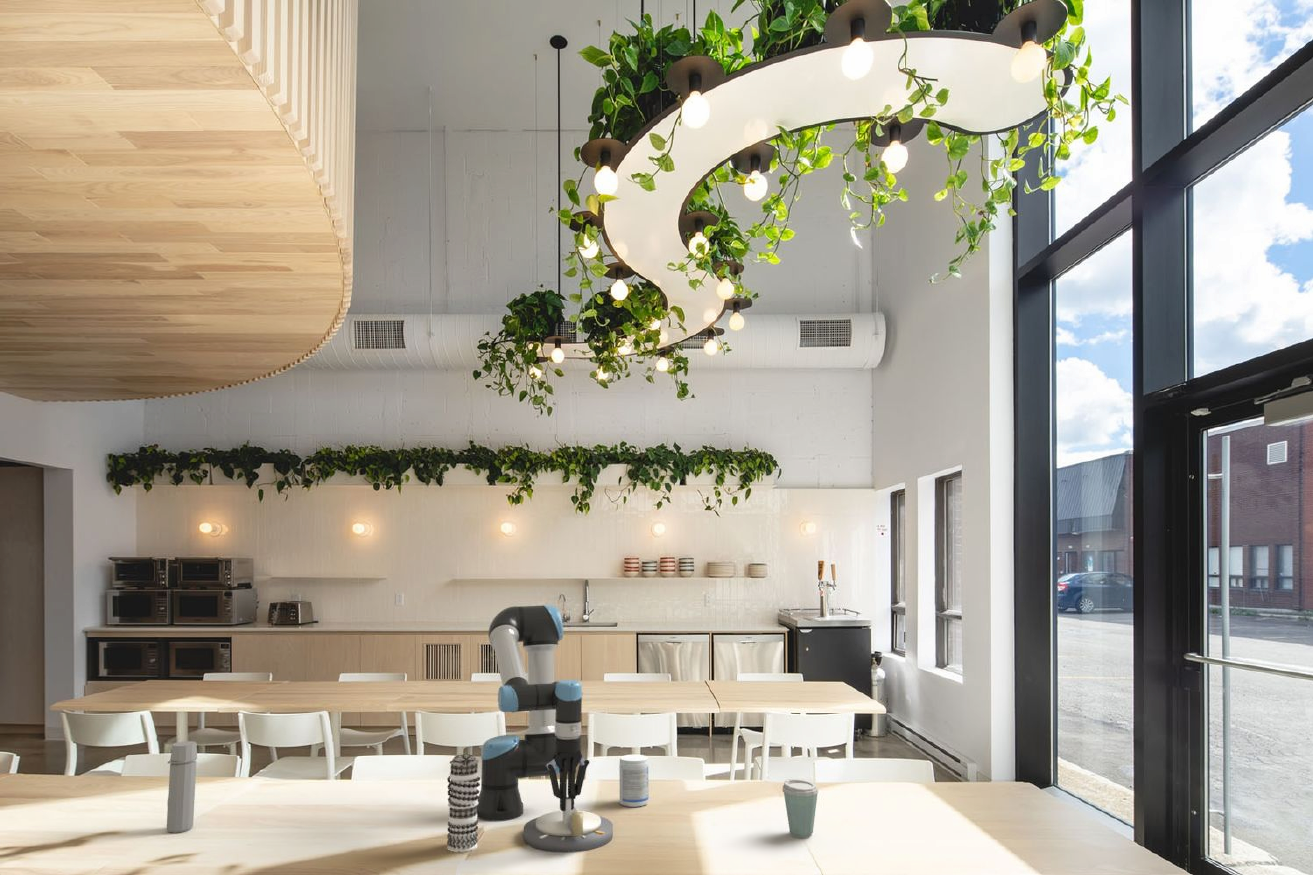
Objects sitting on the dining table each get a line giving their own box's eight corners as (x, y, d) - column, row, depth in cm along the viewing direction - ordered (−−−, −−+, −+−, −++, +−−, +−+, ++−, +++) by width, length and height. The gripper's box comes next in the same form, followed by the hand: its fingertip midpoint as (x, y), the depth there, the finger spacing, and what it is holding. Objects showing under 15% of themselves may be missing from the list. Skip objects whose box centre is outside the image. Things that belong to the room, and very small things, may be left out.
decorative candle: (462, 854, 253) (465, 761, 255) (438, 848, 257) (441, 757, 260) (485, 845, 260) (487, 754, 263) (461, 839, 265) (463, 750, 268)
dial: (531, 818, 275) (531, 793, 275) (593, 813, 280) (593, 789, 281) (544, 844, 252) (544, 817, 252) (611, 838, 257) (611, 812, 258)
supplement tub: (654, 804, 299) (654, 758, 301) (629, 809, 294) (629, 762, 296) (638, 797, 308) (638, 752, 309) (613, 802, 302) (614, 756, 304)
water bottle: (199, 827, 275) (204, 742, 278) (176, 835, 268) (181, 747, 271) (178, 823, 279) (183, 739, 282) (155, 830, 272) (160, 744, 275)
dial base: (504, 841, 264) (505, 829, 264) (560, 817, 286) (560, 806, 286) (577, 858, 250) (577, 845, 250) (629, 832, 272) (629, 820, 272)
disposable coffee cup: (821, 831, 273) (821, 779, 275) (816, 842, 263) (815, 788, 265) (786, 827, 277) (786, 776, 278) (779, 838, 267) (778, 785, 268)
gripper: (551, 741, 256) (550, 828, 253) (594, 736, 262) (593, 822, 259) (542, 736, 262) (540, 821, 260) (583, 731, 268) (582, 815, 266)
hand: (566, 821), depth 260 cm, fingers closed
